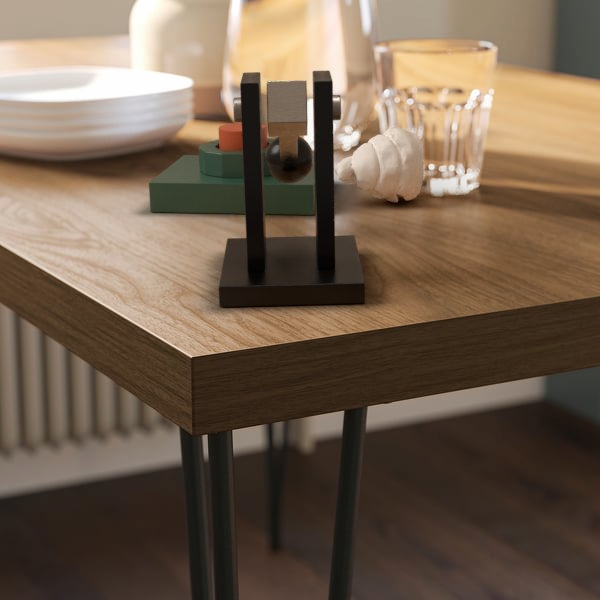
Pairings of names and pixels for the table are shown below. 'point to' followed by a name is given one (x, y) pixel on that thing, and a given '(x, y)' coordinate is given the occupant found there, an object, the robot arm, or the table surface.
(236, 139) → the button
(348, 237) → the bracket
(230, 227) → the table surface
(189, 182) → the button block
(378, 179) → the spiral seashell
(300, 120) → the lever
